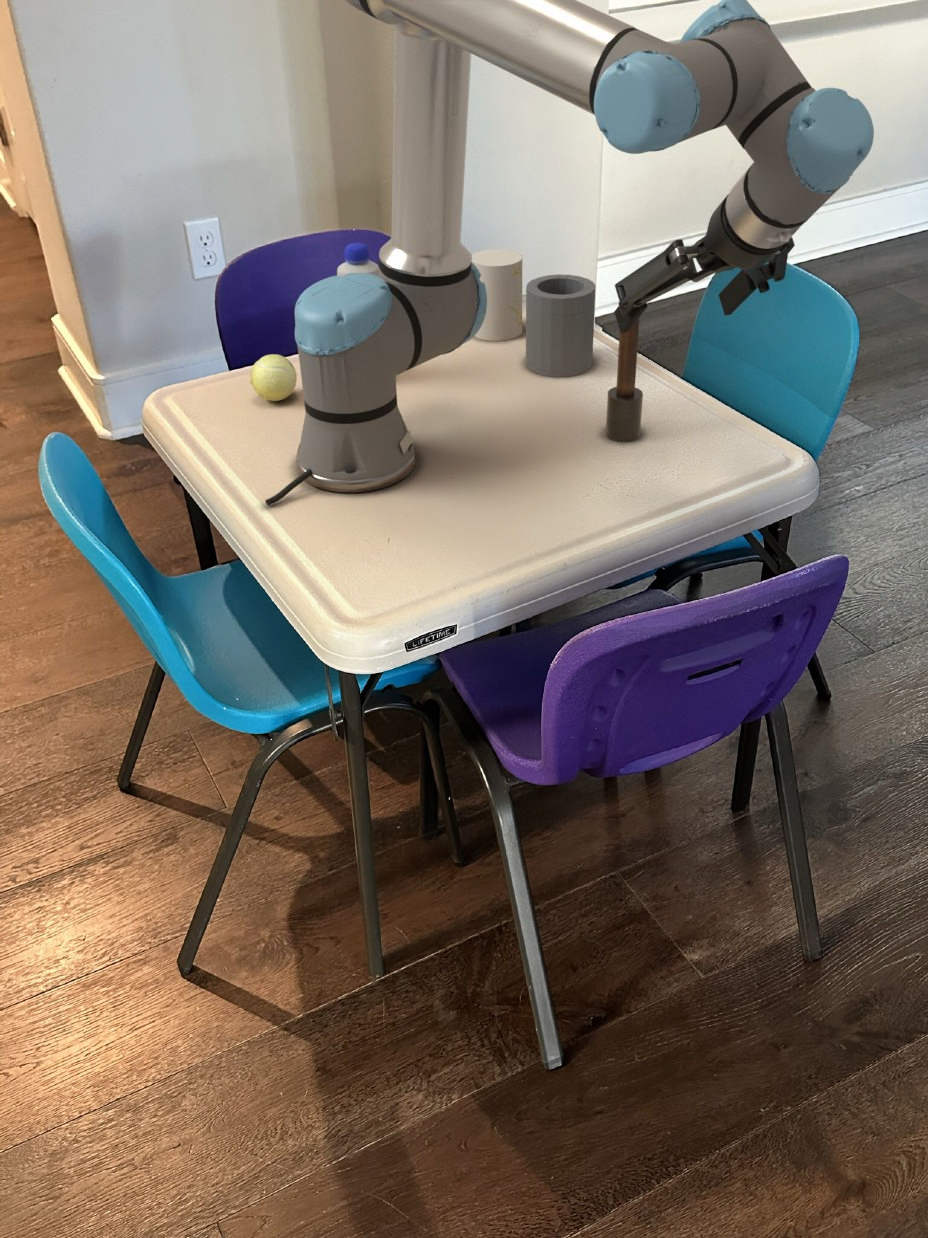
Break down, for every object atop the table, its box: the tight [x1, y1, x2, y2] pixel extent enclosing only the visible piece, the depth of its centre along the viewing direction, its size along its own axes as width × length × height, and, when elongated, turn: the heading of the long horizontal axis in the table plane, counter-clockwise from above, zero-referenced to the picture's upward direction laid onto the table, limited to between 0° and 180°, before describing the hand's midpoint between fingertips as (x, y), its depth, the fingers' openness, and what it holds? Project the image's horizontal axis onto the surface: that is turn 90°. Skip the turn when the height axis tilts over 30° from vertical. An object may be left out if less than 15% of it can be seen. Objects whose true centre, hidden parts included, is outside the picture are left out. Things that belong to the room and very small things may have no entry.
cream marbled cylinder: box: [471, 248, 523, 342], centre depth 179 cm, size 8×8×12 cm
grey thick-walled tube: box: [525, 273, 597, 378], centre depth 168 cm, size 10×10×12 cm
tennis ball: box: [249, 353, 297, 402], centre depth 162 cm, size 6×7×7 cm
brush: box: [605, 316, 644, 443], centre depth 146 cm, size 5×5×20 cm
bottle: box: [336, 242, 379, 277], centre depth 163 cm, size 7×7×20 cm
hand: (672, 313), depth 132 cm, fingers open, 13 cm apart
